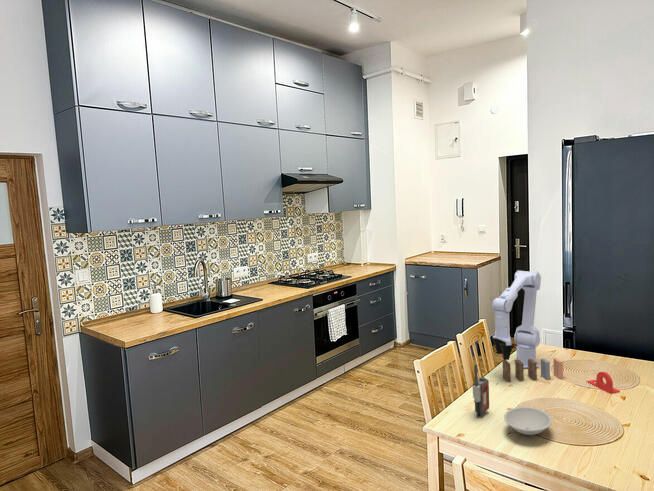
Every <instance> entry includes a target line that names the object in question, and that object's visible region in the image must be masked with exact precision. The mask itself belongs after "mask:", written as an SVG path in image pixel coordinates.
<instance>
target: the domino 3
mask: <svg viewBox="0 0 654 491" xmlns="http://www.w3.org/2000/svg"><path fill="white" fill-rule="evenodd" d="M552 363H553V376H554V377H556V378H557V379H558V380H564V361H562V360H561V359H560V358H558V357H553V362H552Z"/></svg>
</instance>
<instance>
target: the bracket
mask: <svg viewBox="0 0 654 491" xmlns="http://www.w3.org/2000/svg"><path fill="white" fill-rule="evenodd" d="M604 380H605V382H604ZM585 382H586V383H587V382H588V383H587V384H589V383H590V384H589V385H591V384H592V385H591V386H593V385H594V386H593V387H595V386H596V387H595V388H597V387H598V389H599V390H601V391H602V392H603V391H604V393H608V394H609V395H613V394H616V393H617V394H618V393H620V392H621V390H619V389H617V388H615V387H614V382H613V379H612V377H611V376H610V374H609V373H608V372H606V371H599V372H597V374H596V379H591V380H586V381H585ZM594 382H596V383H594Z"/></svg>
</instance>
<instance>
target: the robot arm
mask: <svg viewBox="0 0 654 491" xmlns="http://www.w3.org/2000/svg"><path fill="white" fill-rule="evenodd" d="M541 281H542V277H541V274H540V272H538V271H529V270H528V271H525V270H519V269H518V270H516V272H515V273H514V280H513V281H512V283H511V285H510V286H509V287H506V288H505V289H504V291H503V292H502V293H501V294H500V296H498V297H496V298H494V299H493V301H492V305H491V308H492V311H493V315H494V326H495V328H494V329H495V330H494V335H492V337H491V339H492V341H493V344H494V346H495V350H496V354H497V355H502V360H507V361H509V360H510V358H511V354H512V351H513V349H514V347H515V344H516V349H515V350H516V351H515V352H516V360H520V361H521V362H522V363H523V365H524V369H526V368H527V369H528V359H532V360H533V361H535V362H536V363H537V359H536V358H537V349H536V348H537V347H538V346H540V343H541V342H540V341H541V337H540V331H539V330H538V329H537V328H536V326H534V324H535V323H534V322H535V314H536V303H537V292H538V291H539V290H540V289H541V284H542V282H541ZM521 289H522V290H524V297H523V298H524V299H523V307H522V308H523V309H522V320H521V324H520V325H519V326H517V327H516V329H515V333H514V337H513V340H514V342H515V344H513V343H512V340H511V335H510V331H511V330H510V312H511V311H512V309H513V305H514V302H515V300H516V299H517V298H518V297H519V296H518V295H519V293H518V292H519V291H521ZM537 368H541V365H539V364H538V363H537Z"/></svg>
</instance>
